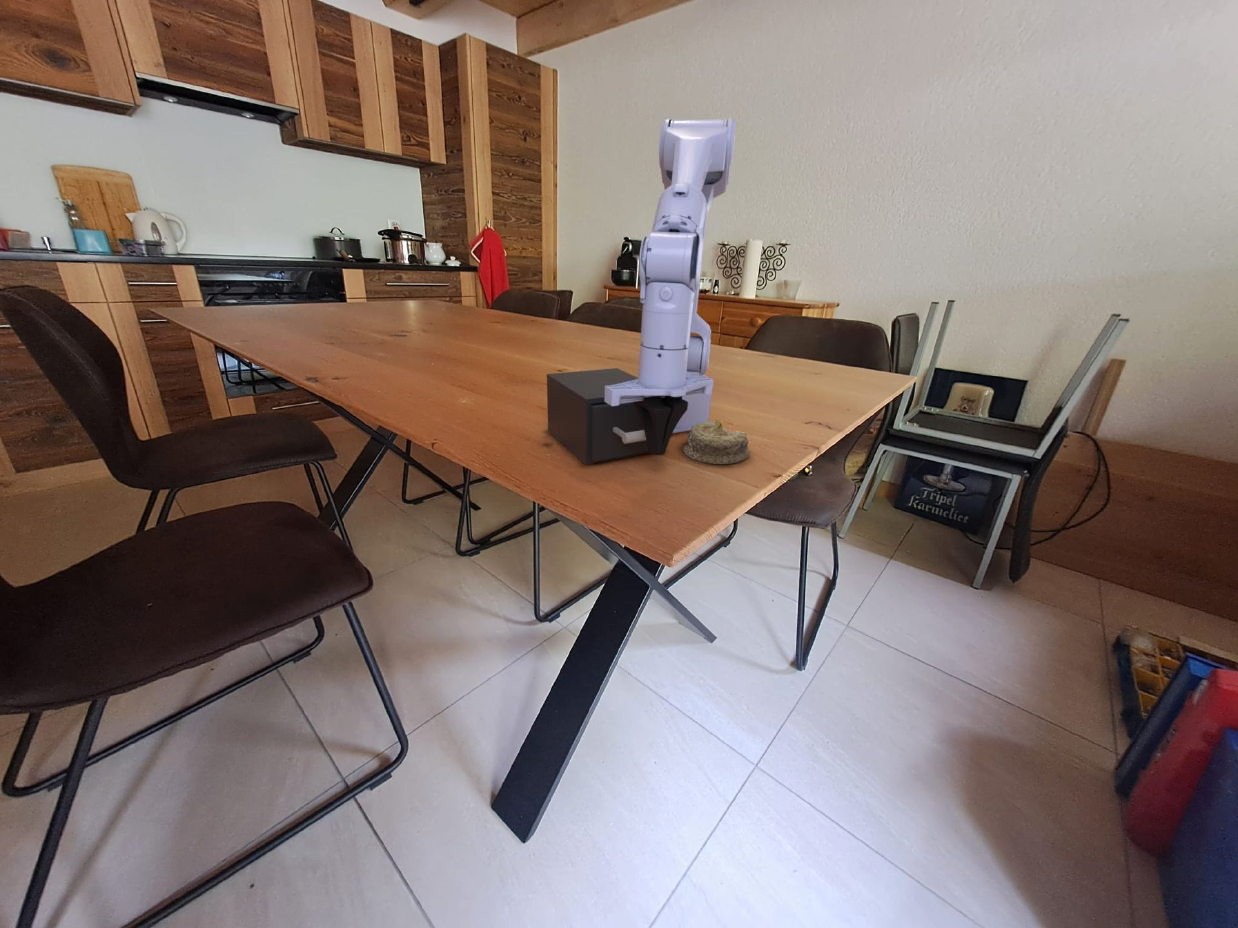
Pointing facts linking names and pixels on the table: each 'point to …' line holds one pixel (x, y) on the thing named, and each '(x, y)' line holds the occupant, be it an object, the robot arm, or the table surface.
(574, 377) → the cabinet
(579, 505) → the table surface
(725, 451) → the beige textured round mound
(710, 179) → the robot arm
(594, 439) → the drawer
